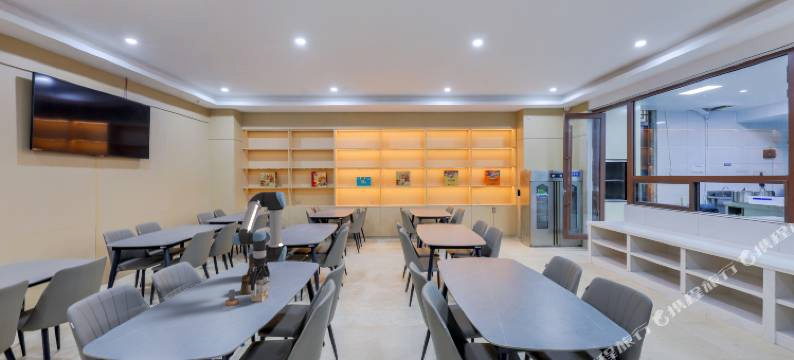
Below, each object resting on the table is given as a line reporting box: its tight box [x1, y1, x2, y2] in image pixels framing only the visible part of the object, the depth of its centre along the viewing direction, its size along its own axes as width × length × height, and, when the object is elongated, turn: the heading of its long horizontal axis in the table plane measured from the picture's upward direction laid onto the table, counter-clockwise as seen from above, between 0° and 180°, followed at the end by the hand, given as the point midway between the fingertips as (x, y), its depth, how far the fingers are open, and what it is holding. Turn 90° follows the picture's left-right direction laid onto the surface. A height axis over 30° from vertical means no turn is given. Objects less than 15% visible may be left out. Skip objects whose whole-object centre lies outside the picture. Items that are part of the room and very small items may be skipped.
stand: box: [250, 280, 269, 303], centre depth 189 cm, size 7×7×11 cm
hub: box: [224, 288, 240, 307], centre depth 182 cm, size 7×7×8 cm
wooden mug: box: [239, 263, 255, 296], centre depth 202 cm, size 9×14×18 cm, turn 170°
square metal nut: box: [249, 279, 271, 293], centre depth 189 cm, size 9×9×4 cm
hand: (259, 291), depth 189 cm, fingers open, 13 cm apart
